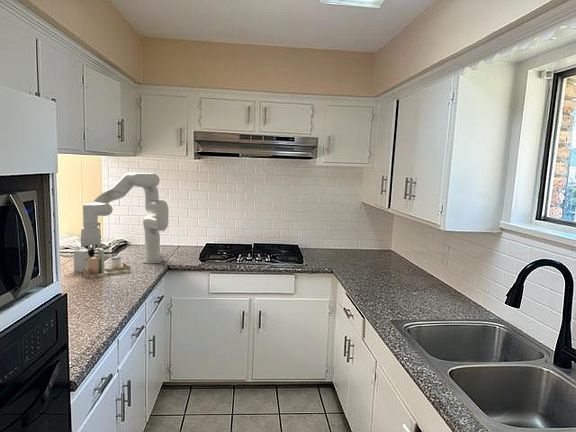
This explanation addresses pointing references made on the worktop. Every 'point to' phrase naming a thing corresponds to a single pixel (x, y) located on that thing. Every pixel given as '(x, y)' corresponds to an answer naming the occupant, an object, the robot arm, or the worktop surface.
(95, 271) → the ball
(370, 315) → the worktop surface
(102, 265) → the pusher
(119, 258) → the cream jar
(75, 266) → the supplement box
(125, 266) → the lane
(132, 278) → the worktop surface
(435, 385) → the worktop surface
